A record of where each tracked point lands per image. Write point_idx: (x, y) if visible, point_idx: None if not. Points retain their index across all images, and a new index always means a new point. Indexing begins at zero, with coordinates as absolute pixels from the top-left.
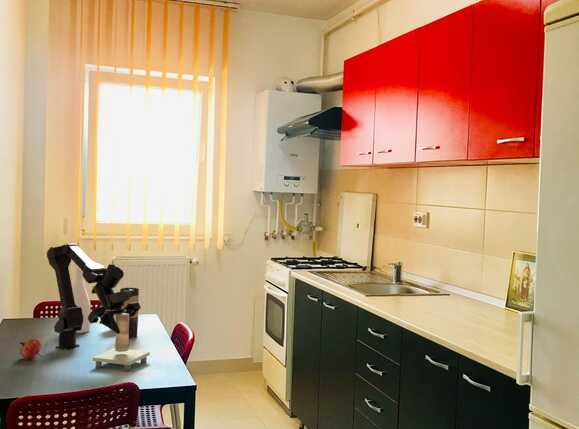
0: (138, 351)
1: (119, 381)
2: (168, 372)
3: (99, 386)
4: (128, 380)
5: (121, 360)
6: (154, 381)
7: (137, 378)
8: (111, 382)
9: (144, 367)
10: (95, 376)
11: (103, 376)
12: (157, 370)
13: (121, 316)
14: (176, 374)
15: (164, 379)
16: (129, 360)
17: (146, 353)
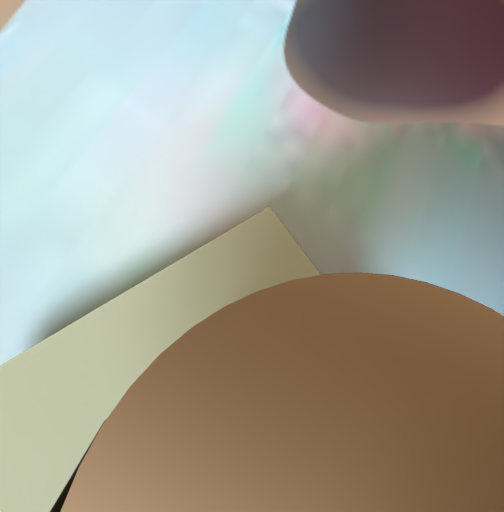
0: (30, 472)
1: (365, 133)
2: (51, 114)
3: (473, 123)
4: (318, 121)
5: (307, 265)
6: (210, 39)
7: (262, 122)
8: (406, 142)
9: (110, 288)
10: (457, 283)
11: (416, 257)
12: (80, 182)
13: (497, 334)
14: (39, 62)
15: (149, 35)
16: (254, 233)
17: (10, 360)
